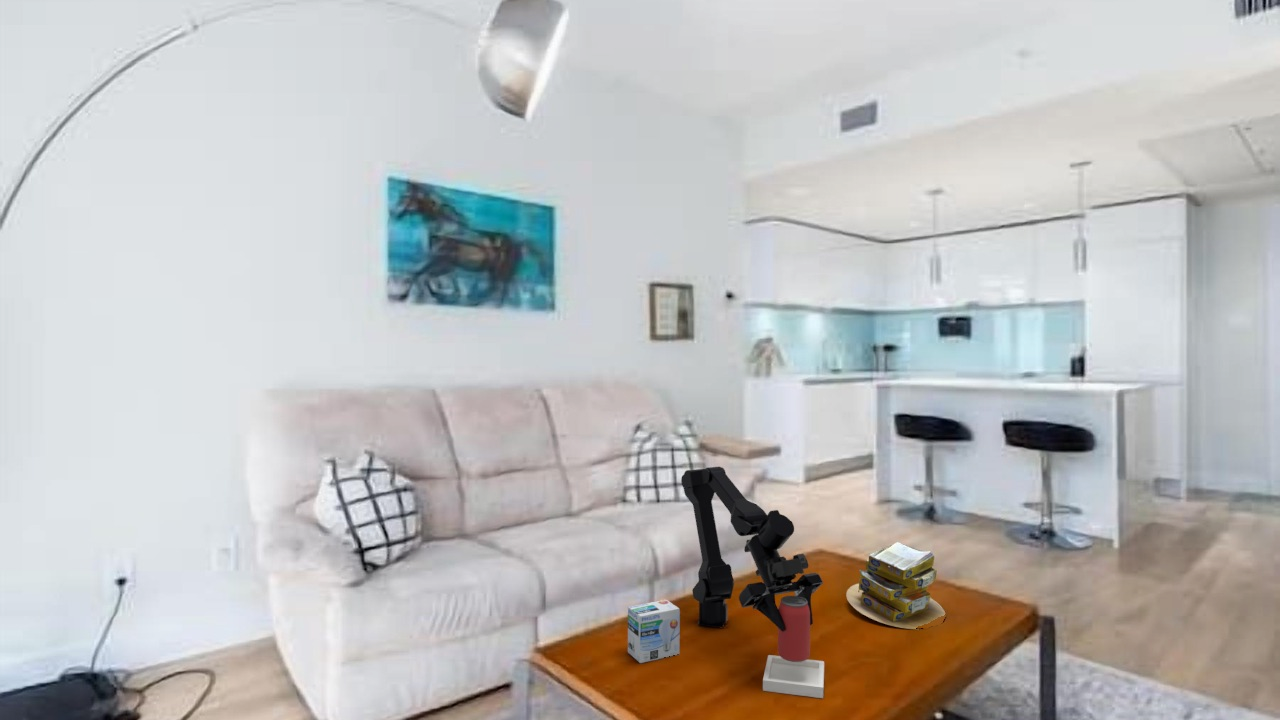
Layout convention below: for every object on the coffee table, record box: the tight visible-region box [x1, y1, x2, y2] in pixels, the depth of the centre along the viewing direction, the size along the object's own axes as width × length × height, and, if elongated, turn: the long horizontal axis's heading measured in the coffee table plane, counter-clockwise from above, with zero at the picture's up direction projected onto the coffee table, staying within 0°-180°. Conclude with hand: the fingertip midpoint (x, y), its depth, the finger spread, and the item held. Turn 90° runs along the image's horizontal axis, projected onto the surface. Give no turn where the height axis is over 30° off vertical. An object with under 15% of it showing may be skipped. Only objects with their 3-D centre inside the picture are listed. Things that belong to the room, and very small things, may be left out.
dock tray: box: [762, 654, 825, 699], centre depth 148 cm, size 12×12×2 cm
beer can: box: [777, 595, 811, 662], centre depth 148 cm, size 7×7×12 cm
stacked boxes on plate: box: [846, 541, 946, 630], centre depth 186 cm, size 25×25×17 cm
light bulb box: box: [627, 599, 681, 664], centre depth 161 cm, size 11×7×11 cm, turn 117°
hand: (797, 627), depth 147 cm, fingers closed on beer can, 7 cm apart
